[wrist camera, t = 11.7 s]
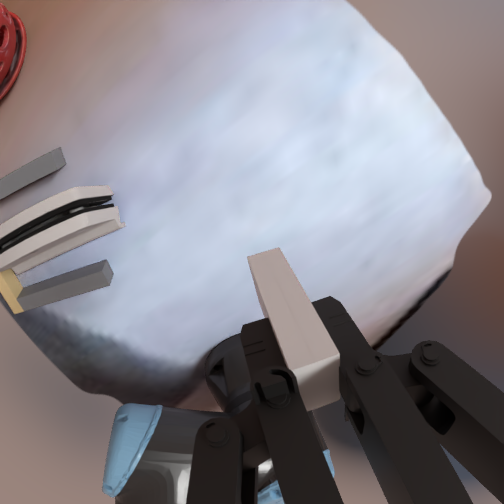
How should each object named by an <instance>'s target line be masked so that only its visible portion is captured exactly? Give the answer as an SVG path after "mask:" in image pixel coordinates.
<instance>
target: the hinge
mask: <svg viewBox="0 0 504 504" xmlns="http://www.w3.org/2000/svg"><path fill="white" fill-rule="evenodd" d="M112 195H114V194H113V192H112V190H111V188H110V187H109V186H108V185H101V186H82V187H74V188H71V189H68V190H66V191H63V192H61V193H59V194H56V195H54V196H52V197H50V198H48V199H45V200H43V201H41V202H39V203H37V204H36V205H34V206H32V207H30V208H28V209H26V210H24V211H22V212H21V213H19V214H17V215H16V216H14V217H12V218H11V219H9V220H7V221H6V222H4V223H3V224H1V225H0V272H2V271H5V270H7V269H10V268H11V269H12V270H13V271H15V272H16V273H17V274H21V273H23V272H25V271H27V270H29V269H32V268H34V267H36V266H38V265H40V264H42V263H44V262H46V261H48V260H50V259H52V258H55V257H57V256H59V255H61V254H63V253H65V252H68V251H70V250H72V249H74V248H77V247H79V246H81V245H83V244H86V243H88V242H90V241H92V240H95V239H97V238H99V237H102V236H104V235H106V234H109V233H111V232H114V231H116V230H118V229H121V228H123V227H126V225H125V222H123V223H121V222H120V216H119V210H118V206H116V207H114V204H107V205H101V206H97V205H100V204H103V203H105V202H107V201H109V200H112V198H111V196H112Z"/></svg>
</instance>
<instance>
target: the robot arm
mask: <svg viewBox="0 0 504 504" xmlns="http://www.w3.org/2000/svg"><path fill="white" fill-rule="evenodd" d="M247 259H248V263H249V266H250V270H251V274H252V277H253V281H254V285H255V288H256V292H257V295H258V299H259V303H260V305H261V308H262V311H263V314H264V317H265V318H264V319H261V320H258V321H255V322H251V323H248V324H245V325H243V326H242V330H241V334H238V335H236V336H233V337H231V338H229V339H227V340H225V341H224V342H222V343H221V344H219V345H218V346H217V347H216V348H215V349H214V350H213V351H212V352H211V353H210V354H209V356H208V358H207V360H206V363H205V374H206V381H207V384H208V387H209V389H210V390H211V392H212V394H213V396H214V397H215V399H216V401H217V402H218V404H219V406H220V407H221V409H222V411H223V412H212V411H199V410H189V409H179V408H171V407H163V406H162V405H159V404H158V405H156V406H153V405H143V404H135V403H128V404H125V405H123V406H121V407H120V408H119V409H118V411H117V412H116V415H115V419H114V423H113V427H112V432H111V437H110V442H109V447H108V452H107V458H106V464H105V470H104V478H103V487H102V491H103V492H104V493H105V494H107V495H109V496H110V497H115V504H344V503H343V501H342V498H341V496H340V493H339V491H338V488H337V486H336V483H335V481H334V473H335V472H334V468H333V465H332V462H331V458H330V455H329V454H330V451H329V449H328V448H327V446H326V443H325V441H324V438H323V436H322V434H321V431H320V429H319V426H318V424H317V422H316V419H315V417H314V414H313V412H312V410H313V409H316V408H319V407H322V406H324V405H327V404H330V403H332V402H335V401H338V400H340V393H341V395H342V397H343V399H344V401H345V420H346V421H348V420H350V422H351V424H352V426H353V428H354V430H355V432H356V434H357V437H358V439H359V441H360V443H361V445H362V447H363V449H364V451H365V454H366V456H367V458H368V460H369V462H370V464H371V466H372V469H373V471H374V473H375V475H376V477H377V480H378V482H379V484H380V486H381V488H382V490H383V492H384V495H385V497H386V499H387V501H388V503H389V504H473V503H472V501H471V499H470V497H469V495H468V493H467V491H466V490H465V488H464V486H463V484H462V482H461V480H460V479H459V477H458V475H457V473H456V472H455V470H454V468H453V466H452V465H451V463H450V461H449V459H448V458H447V456H446V454H445V452H444V451H443V449H442V447H441V446H440V444H441V445H442V446H443V447H444V448H445V449H446V450H447V451H448V452H449V453H450V454H451V455H452V456H453V457H454V458H455V459H456V460H457V461H458V462H460V463H461V464H462V465H463V466H464V467H465V468H466V469H467V470H468V471H469V472H470V473H471V474H472V475H473V476H474V477H475V478H476V479H477V480H478V481H479V482H480V483H481V484H482V485H483V486H484V487H486V488H487V489H488V490H489V491H490V492H491V493H492V494H493V495H494V496H495V497H496V498H497V499H498V500H499V501H500V502H501V503H502V504H504V393H503V392H502V391H501V390H499V389H498V388H497V387H496V386H495V385H493V384H492V383H491V382H490V381H488V380H487V379H486V378H485V377H483V376H482V375H480V374H479V373H478V372H477V371H476V370H475V369H473V368H472V367H471V366H469V365H468V364H467V363H466V362H464V361H463V360H462V359H460V358H459V357H458V356H457V355H455V354H454V353H453V352H452V351H450V350H449V349H448V348H446V347H445V346H444V345H442V344H440V343H439V342H437V341H430V340H429V341H423V342H421V343H419V344H417V345H416V346H415V347H414V349H413V350H412V353H409V354H403V355H396V356H387V355H382V354H381V353H379V352H377V351H374V350H373V349H372V348H371V347H370V345H369V344H368V342H367V341H366V339H365V338H364V336H363V335H362V333H361V332H360V330H359V329H358V327H357V326H356V324H355V323H354V321H353V320H352V318H351V317H350V315H349V314H348V313H347V311H346V309H345V308H344V307H343V305H342V304H341V302H339V301H338V300H336V299H334V298H333V297H331V296H329V297H326V298H323V299H320V300H317V301H314V302H310V300H309V298H308V296H307V295H306V293H305V291H304V289H303V288H302V286H301V284H300V282H299V281H298V279H297V277H296V275H295V274H294V272H293V270H292V269H291V267H290V265H289V263H288V262H287V260H286V258H285V257H284V255H283V253H282V251H281V250H280V248H279V247H278V248H275V249H272V250H268V251H265V252H262V253H258V254H255V255H252V256H248V257H247ZM439 443H440V444H439Z"/></svg>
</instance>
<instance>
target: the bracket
mask: <svg viewBox="0 0 504 504" xmlns="http://www.w3.org/2000/svg"><path fill="white" fill-rule="evenodd" d="M65 164H66V162H65V159H64V156H63V153H62V150H61V147H59V148H57V149H55V150H53V151H51V152H49V153H47V154H45V155H43V156H41V157H39V158H37V159H35V160H33V161H31V162H30V163H28V164H26V165H24V166H22V167H21V168H19V169H17V170H15V171H14V172H12V173H10V174H8V175H7V176H5V177H3V178H2V179H0V200H1V199H2V198H4V197H6V196H8V195H9V194H11V193H13V192H15V191H17V190H18V189H20V188H22V187H24V186H26V185H28V184H30V183H32V182H34V181H36V180H38V179H40V178H42V177H44V176H46V175H48V174H50V173H52V172H54V171H56V170H58V169H59V168H61V167H62V166H64V165H65ZM113 274H114V273H113V271H112V269H111V267H110V265H109V263H108V261H107V260H104V261H101V262H98V263H95V264H92V265H89V266H86V267H83V268H80V269H77V270H74V271H71V272H68V273H65V274H62V275H59V276H56V277H53V278H50V279H47V280H44V281H42V282H39V283H36V284H33V285H30V286H27V287H25V288H23V287H22V285H21V284H20V282H19V280H18V279H17V277H16V275H15V273H14V272H13V270H12V269H11V268H10V269H7V270H5V271H2V272H0V292H1V294H2V295H3V297H4V298H5V300H6V302H7V303H8V305H9V306H10V308H11V309H12V311H13V312H14V314H17V313H20V312H23V311H27V310H30V309H33V308H37V307H40V306H43V305H46V304H50V303H53V302H56V301H60V300H63V299H66V298H70V297H73V296H76V295H80V294H83V293H86V292H90V291H93V290H96V289H100V288H103V287H106V286H110V283H111V280H112V277H113Z"/></svg>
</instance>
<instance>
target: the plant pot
mask: <svg viewBox="0 0 504 504" xmlns="http://www.w3.org/2000/svg"><path fill="white" fill-rule="evenodd" d="M26 43H27V38H26V31H25V27H24V25H23V22H22V21H21V19H20V18H19V17H18V16H17V15H16V14H14V13H12V12H8V10H7V9H6V7H5V6H4V5H3V4H2V3H1V2H0V100H1V99H2V98H3V97H4V96H5V94H6V93H7V92H8V91H9V89H10V88H11V87H12V85H13V83H14V82H15V80H16V78H17V76H18V74H19V72H20V70H21V67H22V64H23V61H24V57H25V52H26Z"/></svg>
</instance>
